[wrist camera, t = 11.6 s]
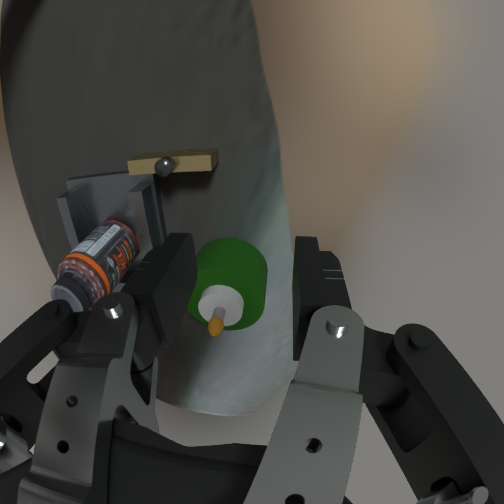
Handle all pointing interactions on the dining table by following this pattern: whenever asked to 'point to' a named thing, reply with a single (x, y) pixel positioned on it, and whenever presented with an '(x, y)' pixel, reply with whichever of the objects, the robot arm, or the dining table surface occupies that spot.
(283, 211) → the dining table surface
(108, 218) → the dock
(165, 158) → the bar
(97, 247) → the supplement bottle
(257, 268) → the candle
